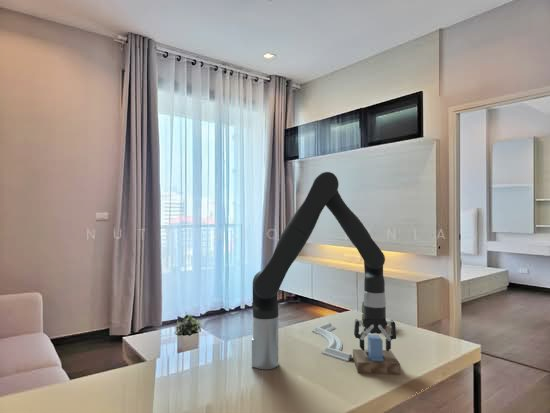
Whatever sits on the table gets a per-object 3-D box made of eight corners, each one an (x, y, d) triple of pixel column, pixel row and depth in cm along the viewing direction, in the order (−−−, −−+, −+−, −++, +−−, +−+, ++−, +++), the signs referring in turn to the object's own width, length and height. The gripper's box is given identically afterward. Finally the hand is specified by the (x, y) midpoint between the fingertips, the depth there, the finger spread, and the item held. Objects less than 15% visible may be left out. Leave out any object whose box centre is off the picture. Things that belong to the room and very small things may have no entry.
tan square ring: (357, 372, 117) (357, 362, 117) (352, 358, 129) (352, 349, 129) (400, 374, 116) (400, 363, 116) (391, 360, 128) (391, 350, 128)
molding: (358, 363, 126) (358, 355, 127) (325, 363, 126) (325, 355, 126) (334, 327, 169) (334, 321, 169) (309, 327, 168) (309, 321, 168)
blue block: (371, 371, 118) (371, 341, 119) (367, 360, 127) (366, 333, 127) (383, 372, 118) (383, 342, 118) (378, 361, 127) (377, 333, 127)
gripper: (392, 302, 126) (392, 347, 126) (352, 301, 128) (353, 345, 127) (397, 307, 119) (398, 355, 118) (355, 306, 120) (356, 353, 119)
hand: (375, 350), depth 123 cm, fingers open, 8 cm apart
